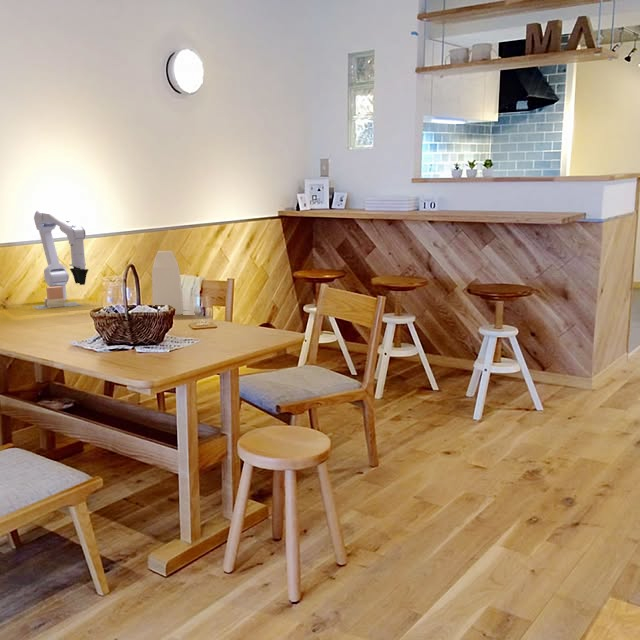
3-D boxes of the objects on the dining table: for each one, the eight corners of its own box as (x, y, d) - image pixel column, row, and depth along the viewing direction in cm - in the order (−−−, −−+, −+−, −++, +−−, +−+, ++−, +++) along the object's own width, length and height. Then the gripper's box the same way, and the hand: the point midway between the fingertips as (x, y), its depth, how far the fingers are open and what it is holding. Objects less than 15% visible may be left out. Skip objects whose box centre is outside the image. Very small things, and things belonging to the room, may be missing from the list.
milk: (152, 315, 303) (148, 252, 299) (155, 311, 314) (151, 250, 310) (182, 314, 304) (178, 251, 300) (183, 310, 316) (180, 249, 311)
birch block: (45, 305, 330) (44, 298, 329) (61, 304, 333) (60, 296, 333) (48, 307, 324) (47, 299, 323) (64, 306, 328) (64, 298, 327)
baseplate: (32, 309, 330) (31, 306, 330) (75, 305, 340) (74, 302, 340) (38, 312, 319) (37, 309, 319) (82, 308, 329) (82, 305, 329)
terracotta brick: (47, 298, 329) (46, 287, 328) (61, 297, 332) (60, 286, 331) (49, 299, 325) (48, 288, 324) (63, 298, 328) (62, 286, 327)
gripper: (64, 253, 335) (67, 283, 337) (72, 255, 323) (75, 286, 325) (80, 252, 339) (82, 282, 341) (88, 254, 327) (91, 284, 329)
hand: (80, 284), depth 333 cm, fingers open, 7 cm apart
